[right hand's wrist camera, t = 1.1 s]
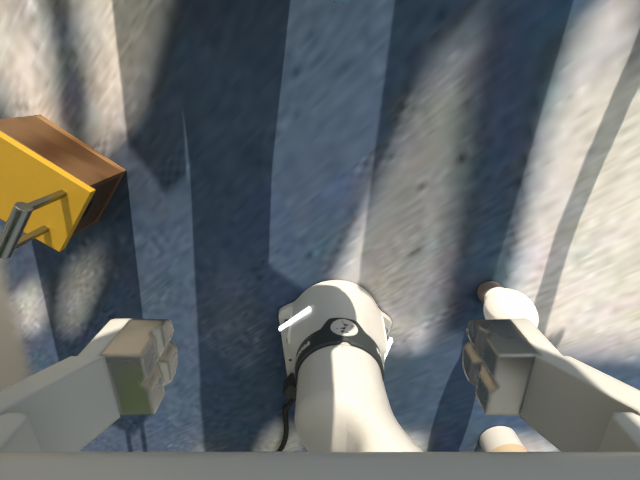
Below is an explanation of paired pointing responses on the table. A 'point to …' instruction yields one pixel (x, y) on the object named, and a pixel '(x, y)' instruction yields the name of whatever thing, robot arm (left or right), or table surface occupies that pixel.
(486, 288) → the light bulb
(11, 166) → the lid
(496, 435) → the coffee cup
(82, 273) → the table surface
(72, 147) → the chest
